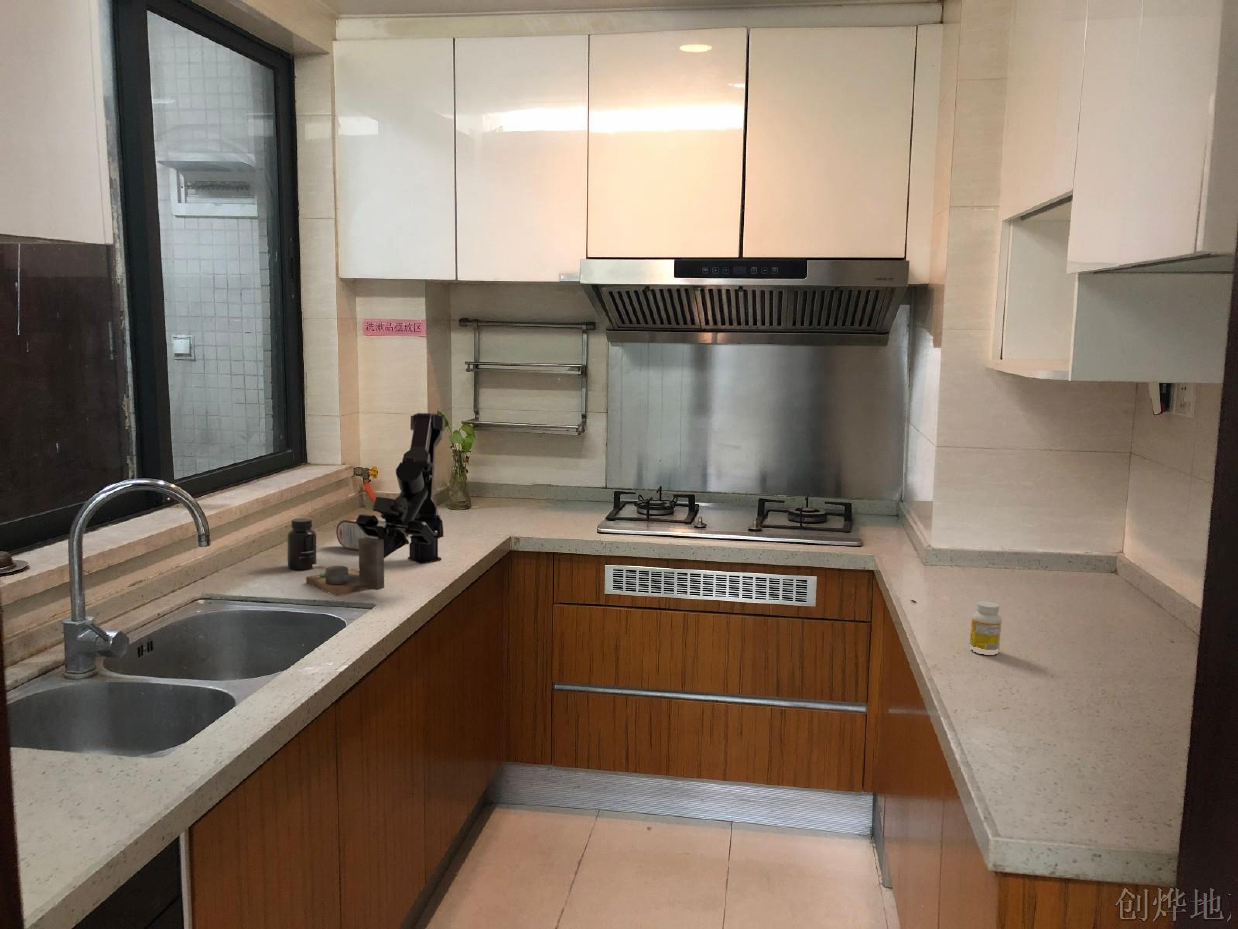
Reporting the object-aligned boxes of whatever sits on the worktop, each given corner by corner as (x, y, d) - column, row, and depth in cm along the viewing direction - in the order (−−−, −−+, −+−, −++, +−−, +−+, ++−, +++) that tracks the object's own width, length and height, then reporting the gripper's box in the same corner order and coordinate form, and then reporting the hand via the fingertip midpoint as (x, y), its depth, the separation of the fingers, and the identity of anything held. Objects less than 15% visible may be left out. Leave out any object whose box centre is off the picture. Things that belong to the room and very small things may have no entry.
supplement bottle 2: (993, 658, 178) (997, 609, 177) (965, 651, 181) (969, 604, 180) (1002, 651, 182) (1006, 604, 181) (975, 645, 186) (978, 598, 184)
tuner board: (352, 574, 226) (352, 566, 226) (383, 586, 216) (383, 577, 216) (306, 583, 218) (306, 574, 217) (335, 596, 208) (335, 587, 208)
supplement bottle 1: (307, 571, 228) (306, 523, 226) (282, 569, 229) (280, 521, 227) (322, 565, 234) (321, 518, 233) (297, 563, 236) (296, 516, 234)
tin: (386, 552, 249) (386, 521, 248) (379, 555, 246) (378, 523, 245) (342, 545, 255) (341, 515, 254) (334, 548, 252) (333, 517, 251)
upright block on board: (305, 579, 214) (304, 532, 212) (321, 574, 218) (320, 528, 217) (373, 591, 206) (372, 543, 204) (387, 586, 210) (387, 538, 209)
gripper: (360, 479, 216) (327, 535, 208) (426, 486, 209) (395, 544, 200) (382, 507, 225) (352, 562, 216) (446, 515, 217) (417, 572, 209)
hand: (378, 559), depth 210 cm, fingers closed
